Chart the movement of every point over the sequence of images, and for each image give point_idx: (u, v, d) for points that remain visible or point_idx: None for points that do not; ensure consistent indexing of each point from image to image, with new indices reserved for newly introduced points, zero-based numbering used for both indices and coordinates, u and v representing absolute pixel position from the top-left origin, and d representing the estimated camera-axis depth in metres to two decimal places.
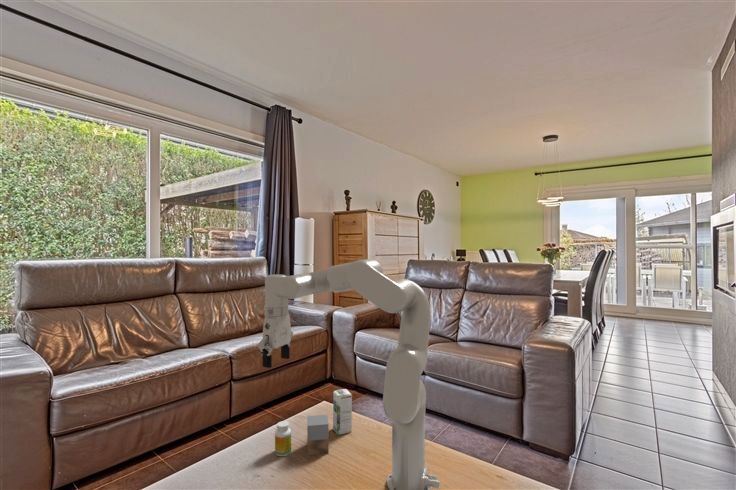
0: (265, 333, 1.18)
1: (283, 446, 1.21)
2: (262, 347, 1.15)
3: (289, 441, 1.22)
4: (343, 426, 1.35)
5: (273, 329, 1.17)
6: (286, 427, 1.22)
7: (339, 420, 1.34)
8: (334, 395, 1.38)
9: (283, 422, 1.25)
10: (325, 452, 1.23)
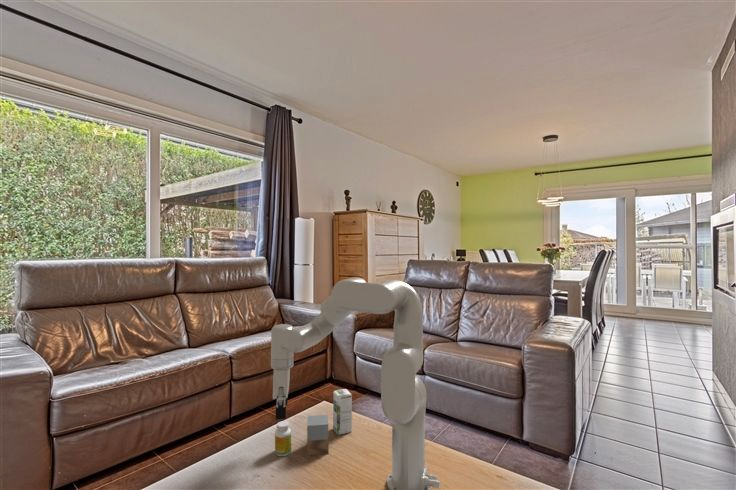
0: None
1: (283, 446, 1.21)
2: None
3: (289, 441, 1.22)
4: (343, 426, 1.35)
5: None
6: (286, 427, 1.22)
7: (339, 420, 1.34)
8: (334, 395, 1.38)
9: (283, 422, 1.25)
10: (325, 452, 1.23)
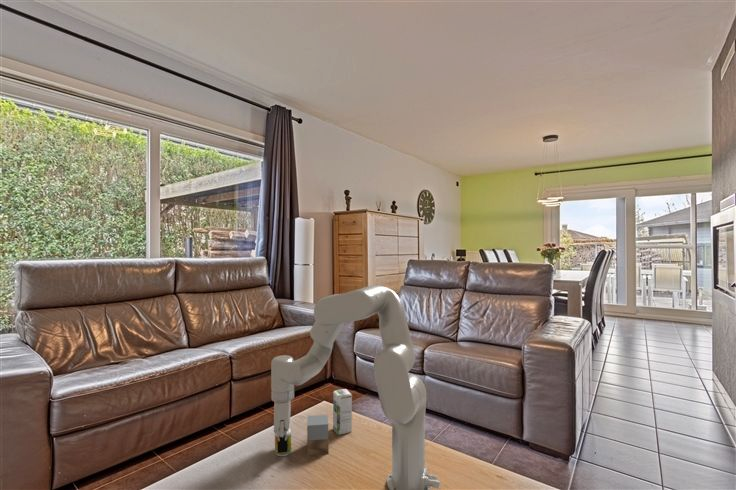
0: None
1: None
2: None
3: (289, 441, 1.22)
4: (343, 426, 1.35)
5: None
6: None
7: (339, 420, 1.34)
8: (334, 395, 1.38)
9: None
10: (325, 452, 1.23)
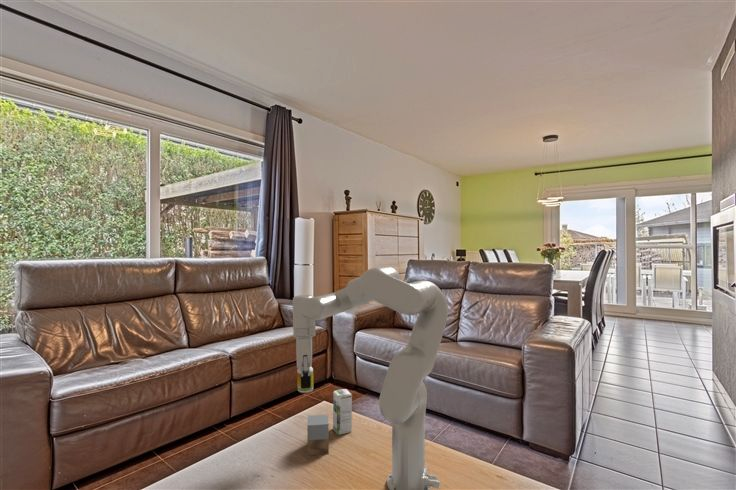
0: None
1: None
2: None
3: (311, 378, 1.24)
4: (343, 426, 1.35)
5: None
6: None
7: (339, 420, 1.34)
8: (334, 395, 1.38)
9: None
10: (325, 452, 1.23)
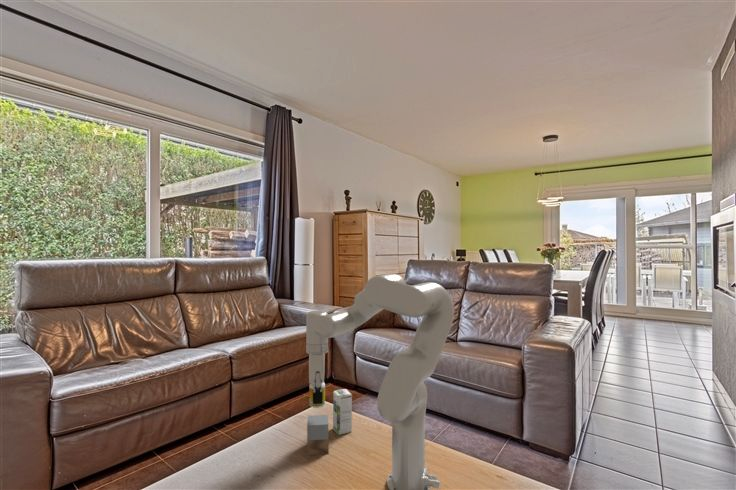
0: None
1: None
2: None
3: (323, 393, 1.25)
4: (343, 426, 1.35)
5: None
6: (320, 380, 1.24)
7: (339, 420, 1.34)
8: (334, 395, 1.38)
9: None
10: (325, 452, 1.23)
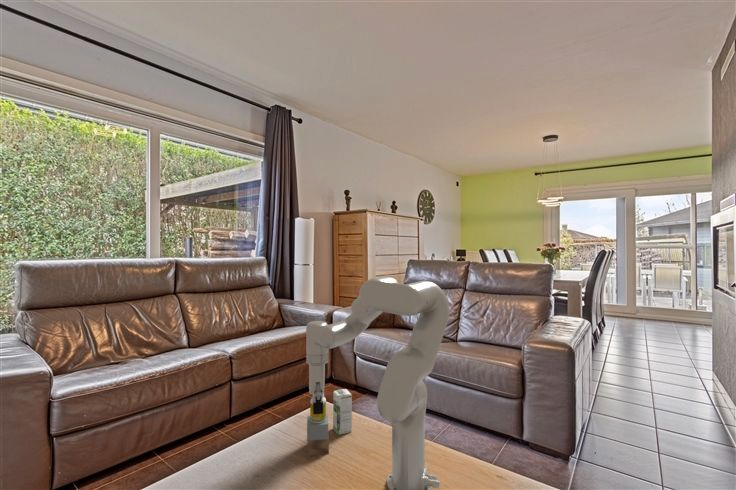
0: None
1: None
2: None
3: (324, 409, 1.24)
4: (343, 426, 1.35)
5: None
6: (322, 395, 1.24)
7: (339, 420, 1.34)
8: (334, 395, 1.38)
9: None
10: (325, 452, 1.23)
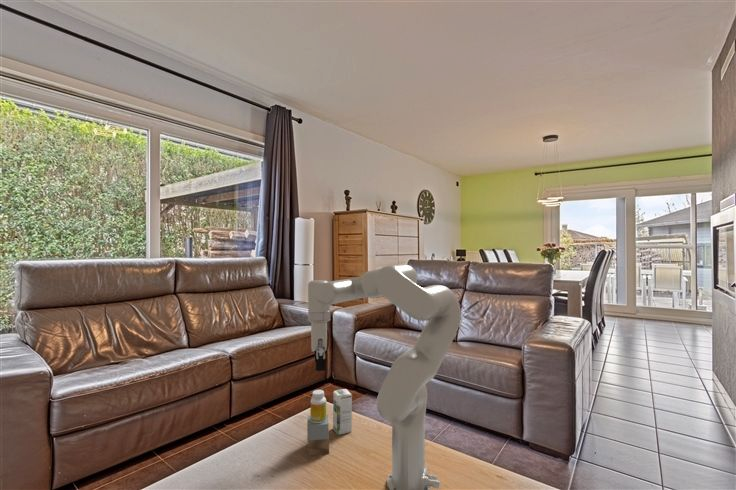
0: None
1: (319, 413, 1.23)
2: None
3: (324, 409, 1.24)
4: (343, 426, 1.35)
5: None
6: (322, 395, 1.24)
7: (339, 420, 1.34)
8: (334, 395, 1.38)
9: (318, 390, 1.27)
10: (326, 452, 1.23)
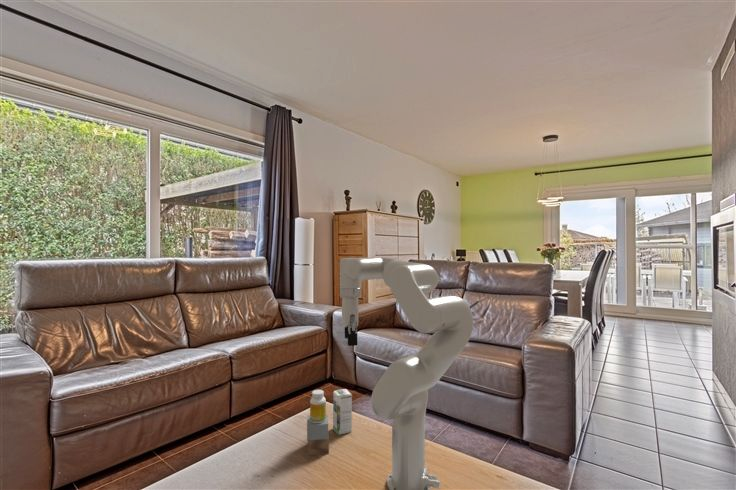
0: None
1: (318, 413, 1.23)
2: None
3: (324, 409, 1.25)
4: (343, 426, 1.35)
5: None
6: (321, 395, 1.24)
7: (339, 420, 1.34)
8: (334, 395, 1.38)
9: (318, 390, 1.27)
10: (325, 452, 1.23)
